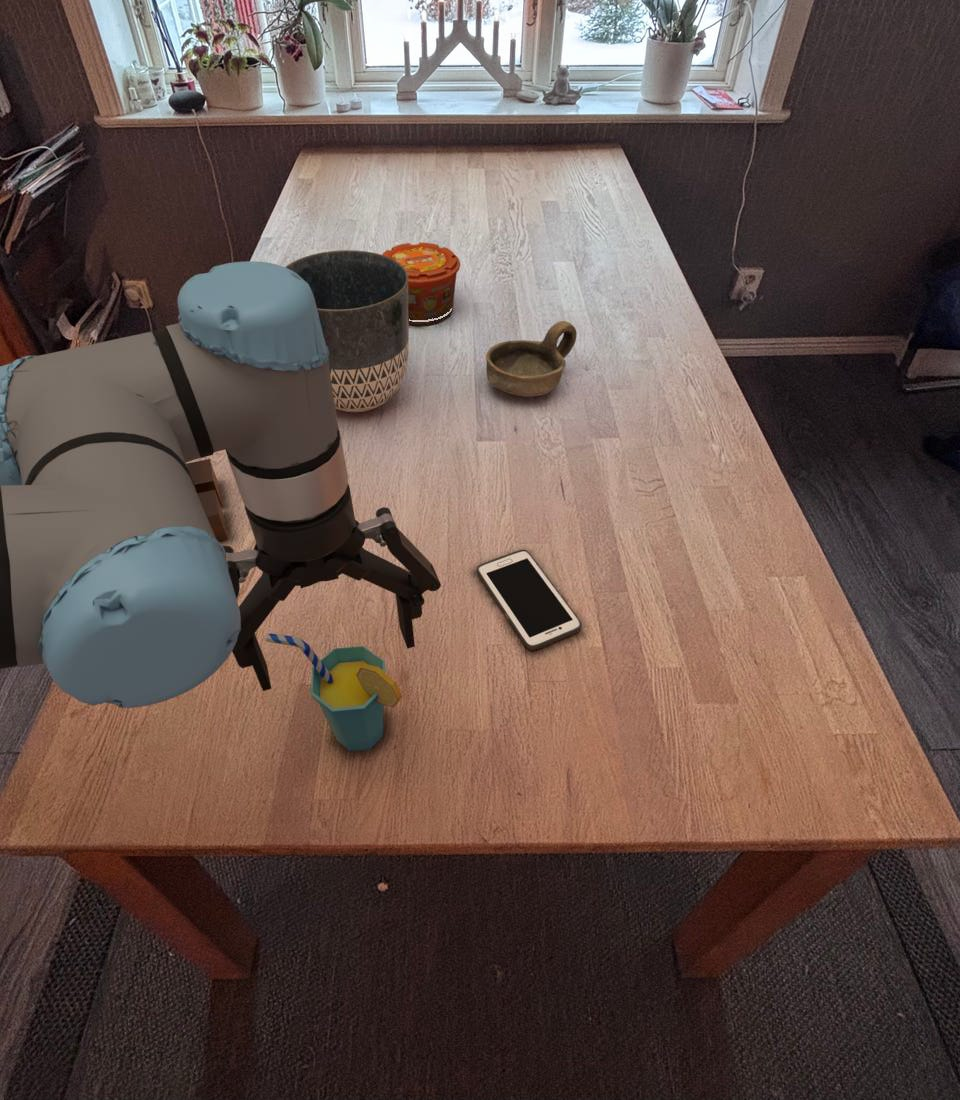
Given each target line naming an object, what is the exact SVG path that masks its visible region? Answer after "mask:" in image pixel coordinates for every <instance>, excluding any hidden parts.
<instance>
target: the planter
mask: <svg viewBox="0 0 960 1100" xmlns="http://www.w3.org/2000/svg"><path fill="white" fill-rule="evenodd" d="M284 267H285V268H288V269H290V270H292V271H293V272H295V273H297V274H298V275H299V276H300V277H301V278H302V279H303V280H304V281H305V282H307V283H308V285H309V286H310V288H311V291H312V293H313V296H314V299H315V303H316V307H317V311H318V315H319V319H320V323H321V327H322V332H323V336H324V340H325V344H326V346H328V351H329V356H328V362H329V369H330V376H331V383H332V390H333V396H334V403H335V410H338V411H343V412H347V413H363V412H368V411H371V410H374V409H376V408H379V407H381V406H382V405H383V404H385V403H386V402H388V401H389V400H391V398H393V396H394V395H395V394H396V393H397V392H398V390H399V389H400V387H401V385H402V384H403V381H404V379H405V376H406V372H407V367H408V363H409V353H410V352H409V351H410V349H409V347H410V344H409V343H410V342H409V341H410V325H409V280H408V273H407V271H406V269H405V268H404V267H403V266H402V265H401V264H400V263H398V262H397V261H395V260H393V259H391V258H389V257H387V256H384V255H382V254H380V253H376V252H372V251H365V250H356V249H355V250H353V249H352V250H351V249H344V250H343V249H340V250H329V251H323V252H318V253H314V254H310V255H307V256H303V257H301V258H298V259H296V260H294V261H292V262H290V263H289V264H287V265H285V266H284Z"/></svg>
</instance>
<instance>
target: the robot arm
mask: <svg viewBox="0 0 960 1100" xmlns="http://www.w3.org/2000/svg"><path fill="white" fill-rule="evenodd" d="M285 267H286V266H283V265H280V264H276V263H273V262H272V263H271V262H267V261H253V260H251V261H250V260H249V261H248V260H247V261H234V262H227V263H224V264H219V265H215V266H213V267H212V268H211V269H210V270H209V271H208V272H205V273H198V274H195V275H193V276H192V277H190V278H189V279H188V280H186V282H184V284H183V285H182V287H181V288H180V289H179V292H178V296H177V308H178V313H179V314H178V316H177V319H178V323H174V324H170V325H169V324H168V325H166V326H165V328H162V329H158V330H153V331H148V332H142V333H139V334H134V335H133V334H132V335H129V336H124V337H120V338H119V337H118V338H115V339H111V340H110V339H109V340H106V341H101V342H95V343H92V344H91V343H90V344H86V345H83V346H77V347H73V348H69V349H64V350H60V351H54V352H51V353H45V354H40V355H26V356H21V358H16V359H15V360H14V361H13V362H11V363H10V362H9V363H8V364H4V365H1V366H0V670H3V669H9V668H16V667H17V668H22V667H29V666H36V665H41V664H44V666H45V667H46V668H47V670H48V672H49V675H50V677H51V679H52V680H53V681H54V683H55V685H56V686H57V687H58V688H59V690H61V691H62V692H63V693H65V694H67V695H68V696H69V697H72V698H74V699H75V700H76V701H78V702H81V703H83V704H87V705H90V706H98V705H103V704H112V705H114V706H117V707H118V708H120V709H135V708H141V707H148V706H151V705H156V704H160V703H163V702H167V701H168V700H172V699H174V698H176V697H180V696H181V695H184V694H186V693H187V692H190V690H193V689H194V688H197V687H198V686H200V685H201V684H203V683H204V682H205V681H207V680H208V679H209V678H210V677H212V676H213V675H214V674H215V673H216V672H217V671H218V670H219V669H220V668H221V667H222V666H223V665H224V663H225V662H226V661H227V660H228V658H229V657H230V655H231V654H233V657H234V659H235V661H236V664H237V665H238V667H239V668H241V669H245V668H248V667H249V668H250V667H252V668H253V671H254V673H255V676H256V678H257V680H258V683H259V685H260V688H261V689H262V692H266V691H269V690H272V685H271V684H272V683H271V679H270V673H269V668H268V664H267V661H266V659H265V656H264V654H263V651H262V648H261V646H260V643H259V642H258V639H257V636H256V632H257V631H258V630H259V628H260V627H261V626H262V624H263V623H264V622H265V620H266V619H267V618H268V617H269V615H270V614H271V613H272V611H273V610H274V608H276V606H277V605H278V604H279V602H284V601H285V600H286V599H287V598H288V596H289V595H290V594H291V592H292V591H293V590H294V589H295V587H300V589H305V588H307V587H311V586H313V585H316V584H318V583H320V582H330V581H335V580H338V579H339V576H341V575H345V576H347V577H349V578H351V579H353V580H356V581H358V582H359V581H361V580H364V581H366V582H368V583H370V584H373V585H375V586H378V587H379V588H381V589H384V590H386V591H388V592H390V593H393V594H394V595H395V602H396V609H397V616H398V626H399V627H398V628H399V630H400V633H401V635H402V639H403V641H404V643H405V646H406V649H407V650H408V649H411V648H414V647H416V645H415V634H414V625H413V620H415V619H416V620H417V619H420V618H421V617H422V615H423V605H424V604H425V602H426V601H425V598H424V596H423V594H424V593H425V592H427V591H429V592H436V591H438V590H440V589H441V587H442V583H441V581H440V579H439V577H438V574H437V572H436V569H435V568H434V565H433V563H432V562H431V561H430V560H429V559H428V557H426V556H425V555H424V554H423V553H422V552H421V551H420V550H419V549H418V548H417V547H416V546H415V545H414V544H413V542H412V541H410V539H409V538H408V537H407V536H406V535H405V534H404V533H403V532H402V531H401V530H400V529H399V528H398V527H397V524H396V522H395V519H394V516H393V514H392V512H391V510H390V508H388V507H385V506H383V507H380V508H378V509H377V510H376V512H375V518H371V519H368V520H366V521H362V522H359V521H358V520H356V516H355V511H354V504H353V498H352V494H351V493H352V492H351V487H350V484H349V474H348V469H347V464H346V457H345V453H344V446H343V441H342V435H341V430H340V429H339V424H338V419H337V411H336V410H337V409H335V403H334V396H333V390H332V383H331V376H330V369H329V362H328V356H329V351H328V346H326V344H325V340H324V336H323V332H322V327H321V323H320V319H319V315H318V311H317V307H316V303H315V299H314V296H313V293H312V291H311V288H310V286H309V285H308V283H307V282H305V281H304V280H303V279H302V278H301V277H300V276H299V275H298V274H297V273H295V272H293V271H292V270H290V269H288V268H285ZM224 450H225V453H226V457H227V460H228V464H229V466H230V469H231V472H232V474H233V478H234V481H235V484H236V486H237V489H238V492H239V495H240V499H241V500H242V503H243V505H244V510H245V513H246V516H247V520H248V522H249V525H250V528H251V531H252V535H253V536H254V540H255V544H254V547H253V549H248V550H242V551H235V552H234V549H233V547H232V546H230V545H223V544H222V543H221V541H220V542H219V541H218V540H217V539H216V537H215V535H214V532H213V530H212V528H211V525H210V523H209V521H208V518H207V516H206V514H205V511H204V509H203V506H202V504H201V502H200V499H199V497H198V495H197V492H196V489H195V485H194V482H193V480H192V477H191V475H190V472H189V469H188V467H187V464H186V463H190V462H193V461H196V460H199V459H203V458H207V457H210V456H213V455H214V454H215V453H217V452H221V451H224ZM367 539H370V540H373V541H374V543H376V544H379V546H380V547H382V548H383V547H384V548H385V547H387V549H388V552H389V553H390V554H391V555H392V556H393V557H394V558H395V559H396V560H397V561H398V562H399V563H400V564H401V565H402V566H403V567H404V568H403V567H401V566H399V565H397V564H395V563H393V562H391V561H389V560H387V559H385V558H383V557H380V556H379V555H377V554H375V553H373V552H371V551H369V550H367V549H365V548H364V545H365V542H366V540H367ZM256 567H257V568H258V569H259V571H262V573H261V576H259V578H258V580H257V581H256V582H255V584H254V585H253V587H252V588H251V589H250V591H249V592H248V593H247V595H246V596H245V598H244V599H243V600H242V601H241V603H240V604H239V602H238V597H239V595H240V590H241V589H240V588H241V587H240V585H241V584H244V583H245V582H246V581H247V579H246V578H247V577H248V576H249V574H250V571H251V570H252V569H253V568H256Z"/></svg>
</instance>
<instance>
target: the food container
mask: <svg viewBox="0 0 960 1100" xmlns="http://www.w3.org/2000/svg"><path fill="white" fill-rule="evenodd" d="M381 255H384V256H387V257H389V258H391V259H393V260H395V261H397V262H398V263H400V264H401V265H402V266H403V267H404V268H405V269H406V271H407V273H408V280H409V319H410V320H428V319H432V318H433V319H434V318H438V317H440V316H443V315H444V314H446V313H447V312H449V311H450V309H451V308H452V306H453V307H454V302H455V301H454V300H455V291H456V283H457V274H458V272H459V271H460V268H461V261H460V258H459V257H458V256H457V255H456V254H455V252H454V251H453V250H451V249H450V248H448V247H446V246H443V247H440V246H439V244H438V243H437V244H436V243H431V242H419V243H417V244H411V243H410V242H407V243H401V244H397V245H395V246H392V247H391V250H390V249H386V250H385V251H383V253H382V254H381ZM452 313H453V309H452V311H451V312H450V313H449V314H448V315H447V316H445V317H443V318H441V319H438V320H434V321H429V322H412V321H409V326H416V327H423V326H424V327H426V326H431V325H438V324H441V323H442V322H444V321H445V320H447V319H448V318H450V317H451V315H452Z"/></svg>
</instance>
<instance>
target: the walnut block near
mask: <svg viewBox="0 0 960 1100" xmlns="http://www.w3.org/2000/svg"><path fill="white" fill-rule="evenodd" d="M197 495H198V497H199V499H200V502H201V504H202V506H203V509H204V511H205V514H206V516H207V518H208V521H209V523H210V525H211V528H212V530H213V532H214V535H215V537H216V539H217V540H218V541H219V542H220V543H221V542H226V541H229V537H228V531H227V530H228V529H227V525H226V519H225V515H224V512H223V509H222V507H221V506H220V503H219V500H218V497H217V495H216V492H215V490H211V491H206V492H202V493H197Z"/></svg>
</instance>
